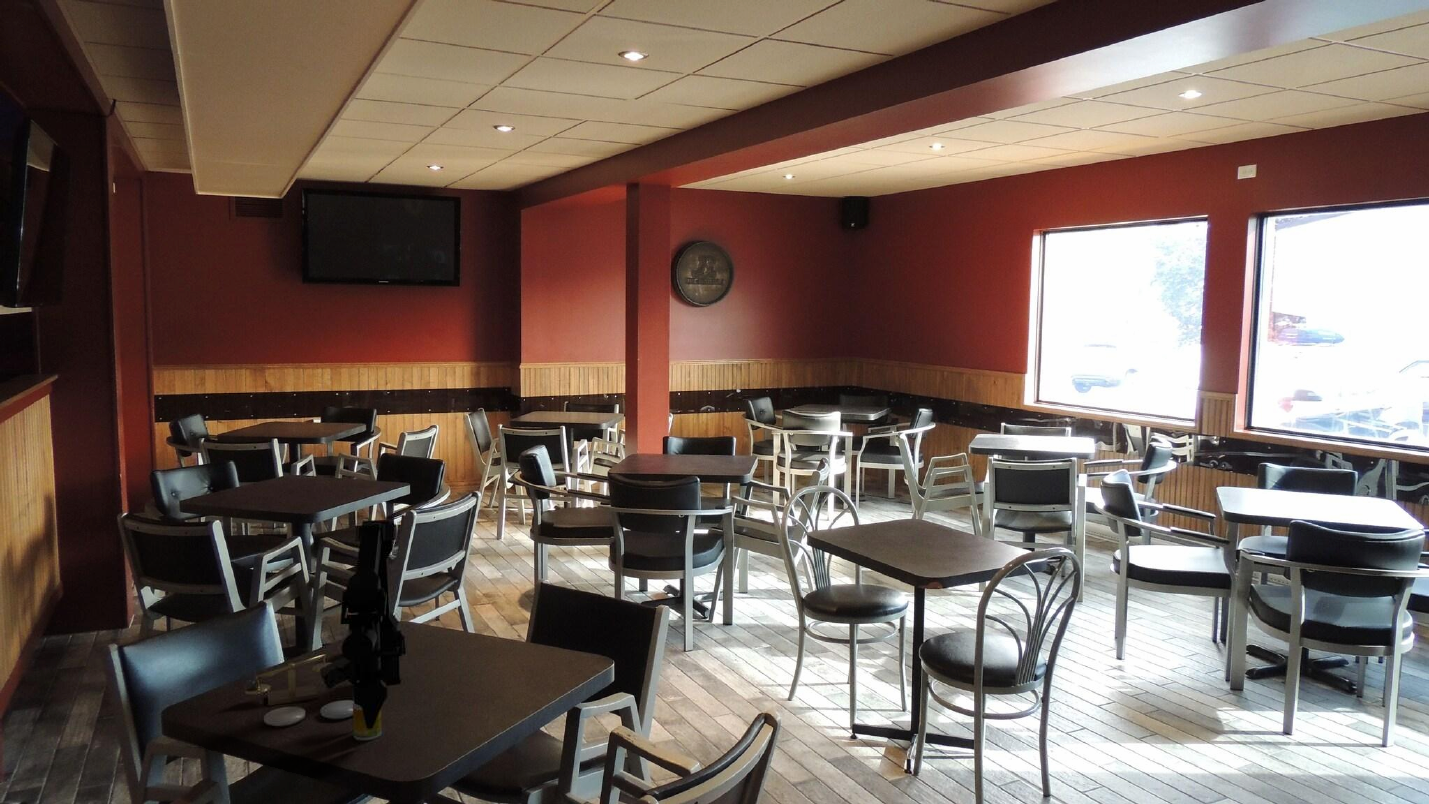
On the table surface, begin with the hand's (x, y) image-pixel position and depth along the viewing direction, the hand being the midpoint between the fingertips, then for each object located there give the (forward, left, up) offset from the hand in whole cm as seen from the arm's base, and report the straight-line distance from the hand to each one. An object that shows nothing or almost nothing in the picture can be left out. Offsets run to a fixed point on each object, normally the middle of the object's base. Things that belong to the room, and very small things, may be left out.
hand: (367, 719), depth 205 cm
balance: (+13, -28, -3) cm, 31 cm away
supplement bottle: (0, 0, -4) cm, 4 cm away
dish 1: (+15, -15, -3) cm, 21 cm away
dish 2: (+4, -14, -3) cm, 15 cm away
